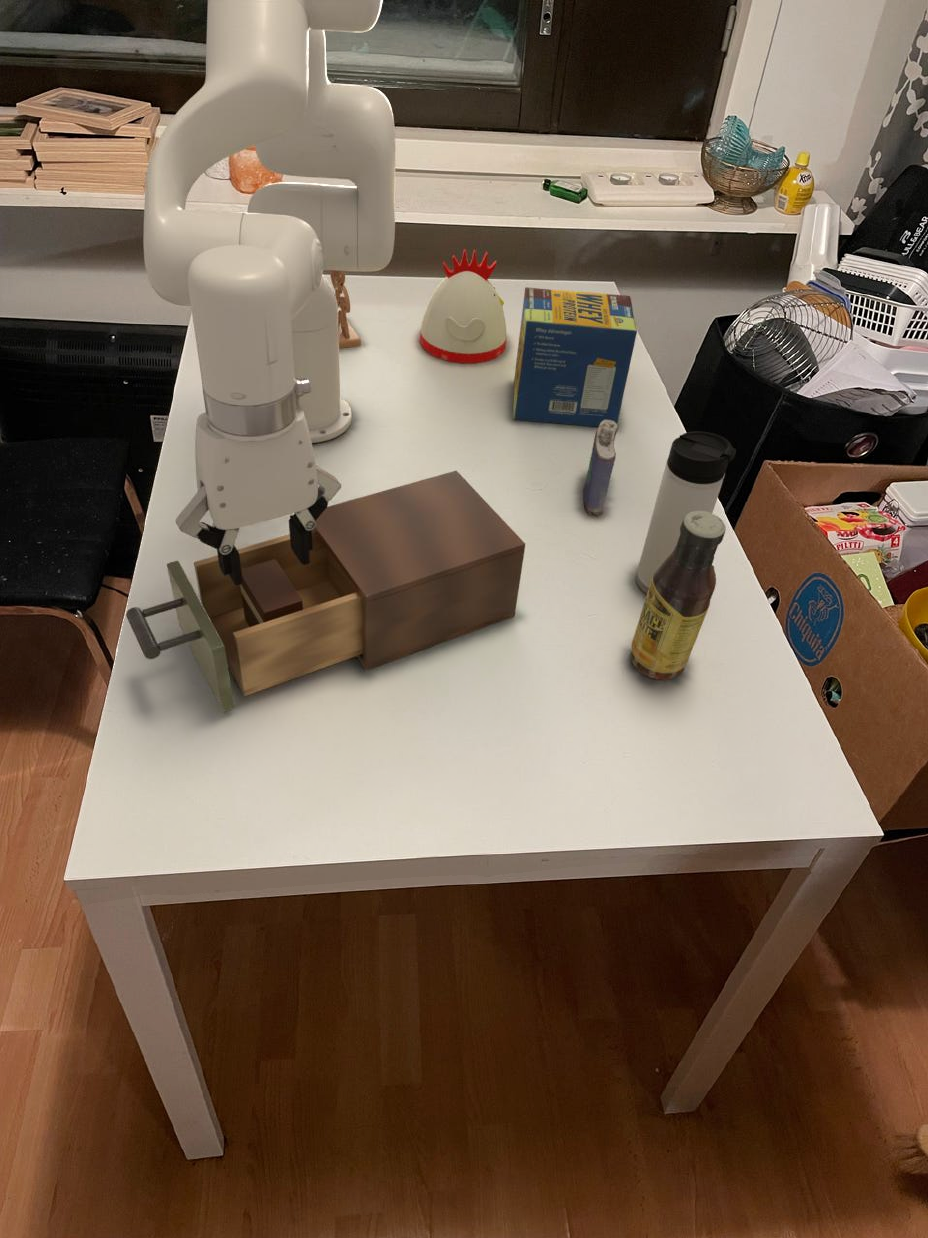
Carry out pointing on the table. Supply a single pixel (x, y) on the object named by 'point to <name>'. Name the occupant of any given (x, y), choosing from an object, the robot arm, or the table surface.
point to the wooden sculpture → (343, 311)
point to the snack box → (267, 593)
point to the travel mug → (683, 494)
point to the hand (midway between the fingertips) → (267, 564)
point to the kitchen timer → (465, 315)
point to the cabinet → (424, 564)
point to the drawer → (268, 647)
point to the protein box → (573, 356)
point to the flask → (600, 467)
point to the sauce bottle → (678, 599)
